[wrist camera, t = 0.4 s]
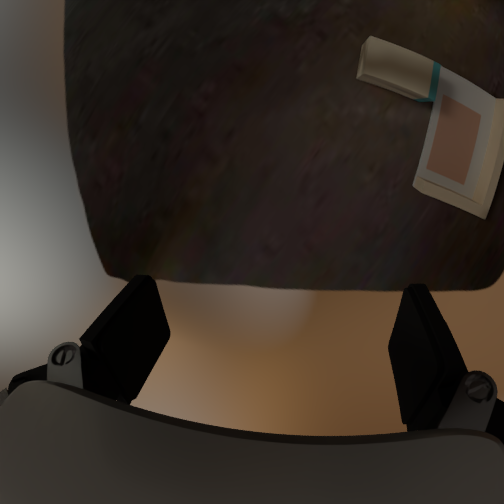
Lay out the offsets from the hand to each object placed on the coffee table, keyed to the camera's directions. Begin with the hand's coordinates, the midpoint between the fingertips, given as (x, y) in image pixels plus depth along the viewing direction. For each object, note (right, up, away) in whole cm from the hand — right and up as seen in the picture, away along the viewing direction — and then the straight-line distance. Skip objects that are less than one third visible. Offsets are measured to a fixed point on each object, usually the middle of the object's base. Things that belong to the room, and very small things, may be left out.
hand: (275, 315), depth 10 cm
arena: (+28, +18, +18) cm, 38 cm away
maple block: (+17, +25, +17) cm, 34 cm away
